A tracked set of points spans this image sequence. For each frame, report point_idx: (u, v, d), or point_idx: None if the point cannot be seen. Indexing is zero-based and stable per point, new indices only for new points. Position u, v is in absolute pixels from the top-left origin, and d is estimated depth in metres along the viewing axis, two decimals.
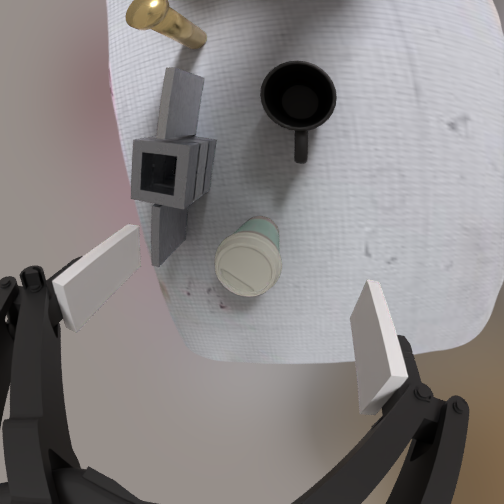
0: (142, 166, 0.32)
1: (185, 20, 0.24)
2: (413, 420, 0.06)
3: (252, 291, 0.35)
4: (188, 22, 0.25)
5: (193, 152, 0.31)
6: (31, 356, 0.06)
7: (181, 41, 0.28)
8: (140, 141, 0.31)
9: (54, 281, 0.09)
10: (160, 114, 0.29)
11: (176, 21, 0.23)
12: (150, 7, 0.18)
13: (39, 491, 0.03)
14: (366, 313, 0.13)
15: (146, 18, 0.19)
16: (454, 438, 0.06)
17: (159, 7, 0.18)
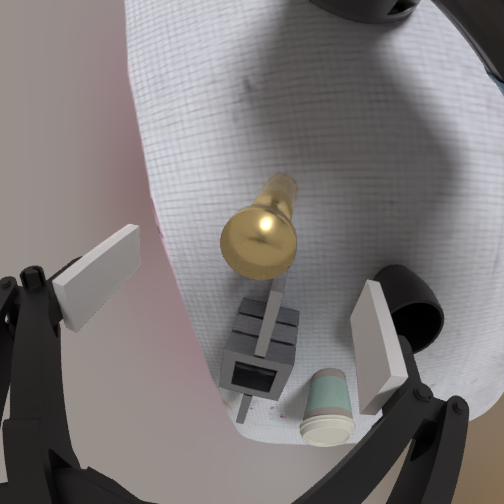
0: (234, 369, 0.31)
1: (292, 208, 0.23)
2: (413, 420, 0.06)
3: (328, 444, 0.34)
4: (292, 204, 0.24)
5: None
6: (31, 356, 0.06)
7: None
8: (233, 352, 0.30)
9: (54, 281, 0.09)
10: (260, 336, 0.28)
11: None
12: (269, 248, 0.17)
13: (39, 491, 0.03)
14: (366, 313, 0.13)
15: (264, 267, 0.18)
16: (454, 438, 0.06)
17: (287, 255, 0.17)
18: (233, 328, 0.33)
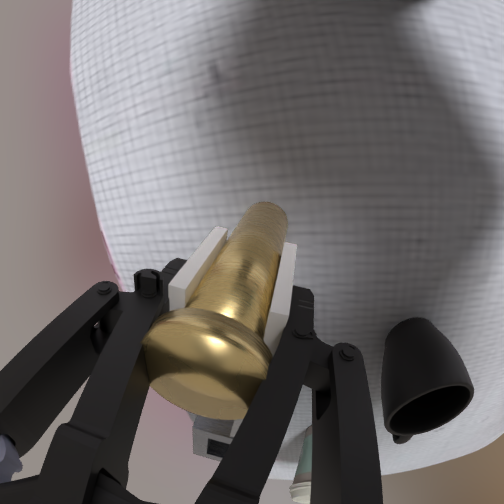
0: (208, 443, 0.22)
1: (275, 272, 0.14)
2: (300, 359, 0.09)
3: None
4: (277, 263, 0.15)
5: None
6: (119, 368, 0.07)
7: None
8: (204, 431, 0.21)
9: (171, 284, 0.11)
10: (235, 423, 0.19)
11: None
12: (221, 389, 0.08)
13: (39, 491, 0.03)
14: (278, 269, 0.15)
15: (215, 407, 0.09)
16: (353, 388, 0.08)
17: None
18: None
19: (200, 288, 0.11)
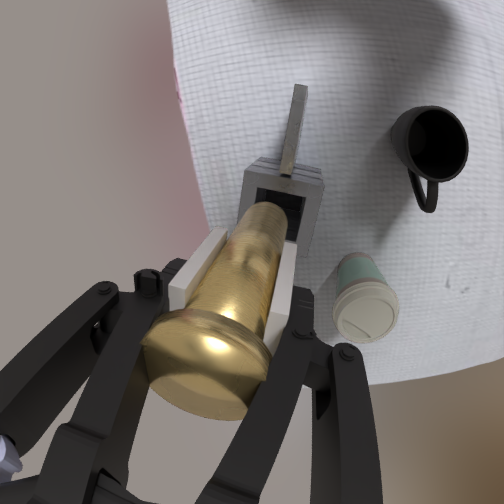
0: None
1: (275, 272, 0.14)
2: (300, 359, 0.09)
3: (368, 338, 0.31)
4: (277, 263, 0.15)
5: None
6: (119, 368, 0.07)
7: None
8: (255, 173, 0.27)
9: (171, 284, 0.11)
10: (286, 143, 0.25)
11: None
12: (221, 389, 0.08)
13: (39, 491, 0.03)
14: (278, 269, 0.15)
15: (215, 408, 0.09)
16: (353, 388, 0.08)
17: None
18: (253, 164, 0.30)
19: (200, 288, 0.11)
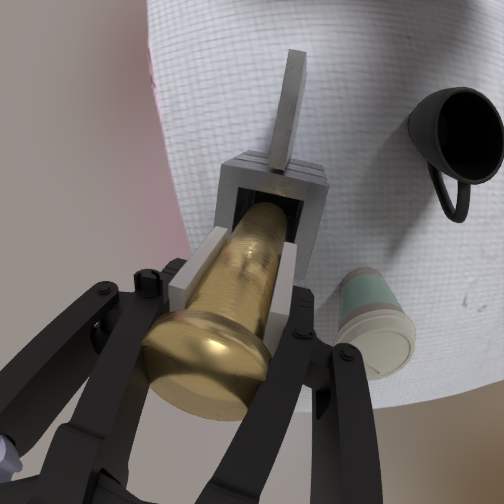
0: (235, 210, 0.22)
1: (275, 273, 0.14)
2: (300, 359, 0.09)
3: (377, 374, 0.24)
4: (277, 264, 0.15)
5: None
6: (119, 368, 0.07)
7: None
8: (235, 168, 0.20)
9: (171, 285, 0.11)
10: (277, 126, 0.18)
11: None
12: (221, 390, 0.08)
13: (39, 491, 0.03)
14: (278, 269, 0.15)
15: (215, 409, 0.09)
16: (353, 388, 0.08)
17: None
18: (235, 158, 0.23)
19: (200, 289, 0.11)
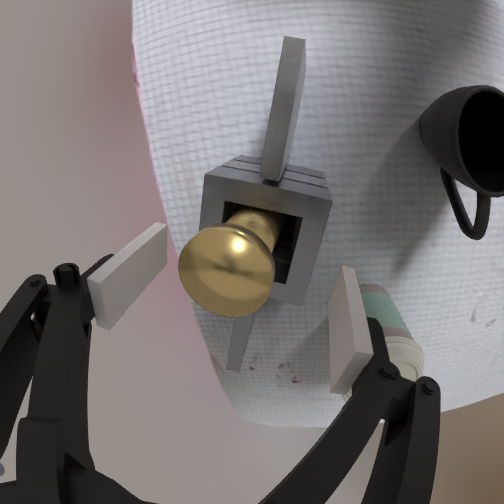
0: None
1: (279, 224, 0.19)
2: (381, 398, 0.07)
3: None
4: (281, 219, 0.20)
5: None
6: (57, 356, 0.07)
7: None
8: (221, 178, 0.17)
9: (89, 278, 0.10)
10: (271, 128, 0.15)
11: None
12: (237, 280, 0.13)
13: (39, 491, 0.03)
14: (339, 296, 0.14)
15: (232, 302, 0.14)
16: (427, 420, 0.06)
17: (260, 289, 0.13)
18: (223, 165, 0.20)
19: None
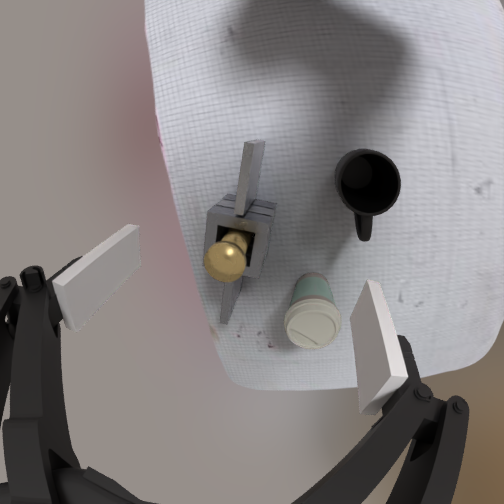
0: (216, 238, 0.37)
1: (249, 237, 0.38)
2: (413, 420, 0.06)
3: (316, 345, 0.39)
4: (251, 234, 0.39)
5: (269, 228, 0.36)
6: (31, 356, 0.06)
7: None
8: (215, 214, 0.35)
9: (54, 281, 0.09)
10: (238, 190, 0.33)
11: None
12: (230, 264, 0.32)
13: (39, 491, 0.03)
14: (366, 313, 0.13)
15: (228, 275, 0.32)
16: (454, 438, 0.06)
17: (240, 268, 0.32)
18: (217, 204, 0.38)
19: (222, 239, 0.35)
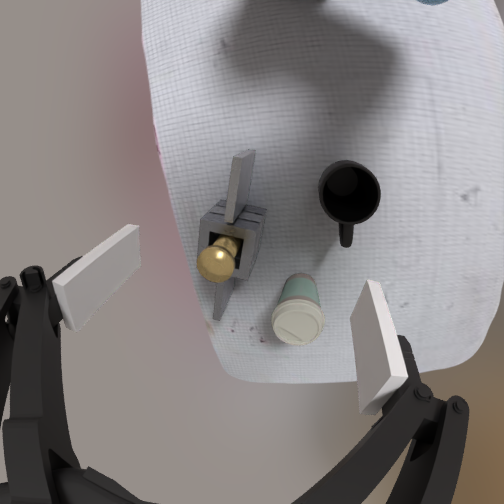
0: (208, 242, 0.40)
1: (239, 241, 0.41)
2: (413, 420, 0.06)
3: (301, 341, 0.43)
4: (241, 238, 0.42)
5: (256, 234, 0.39)
6: (31, 356, 0.06)
7: None
8: (207, 221, 0.38)
9: (54, 281, 0.09)
10: (228, 200, 0.36)
11: (235, 255, 0.39)
12: (220, 266, 0.35)
13: (39, 491, 0.03)
14: (366, 313, 0.13)
15: (218, 276, 0.36)
16: (454, 438, 0.06)
17: (229, 270, 0.35)
18: (210, 211, 0.42)
19: (214, 243, 0.38)
